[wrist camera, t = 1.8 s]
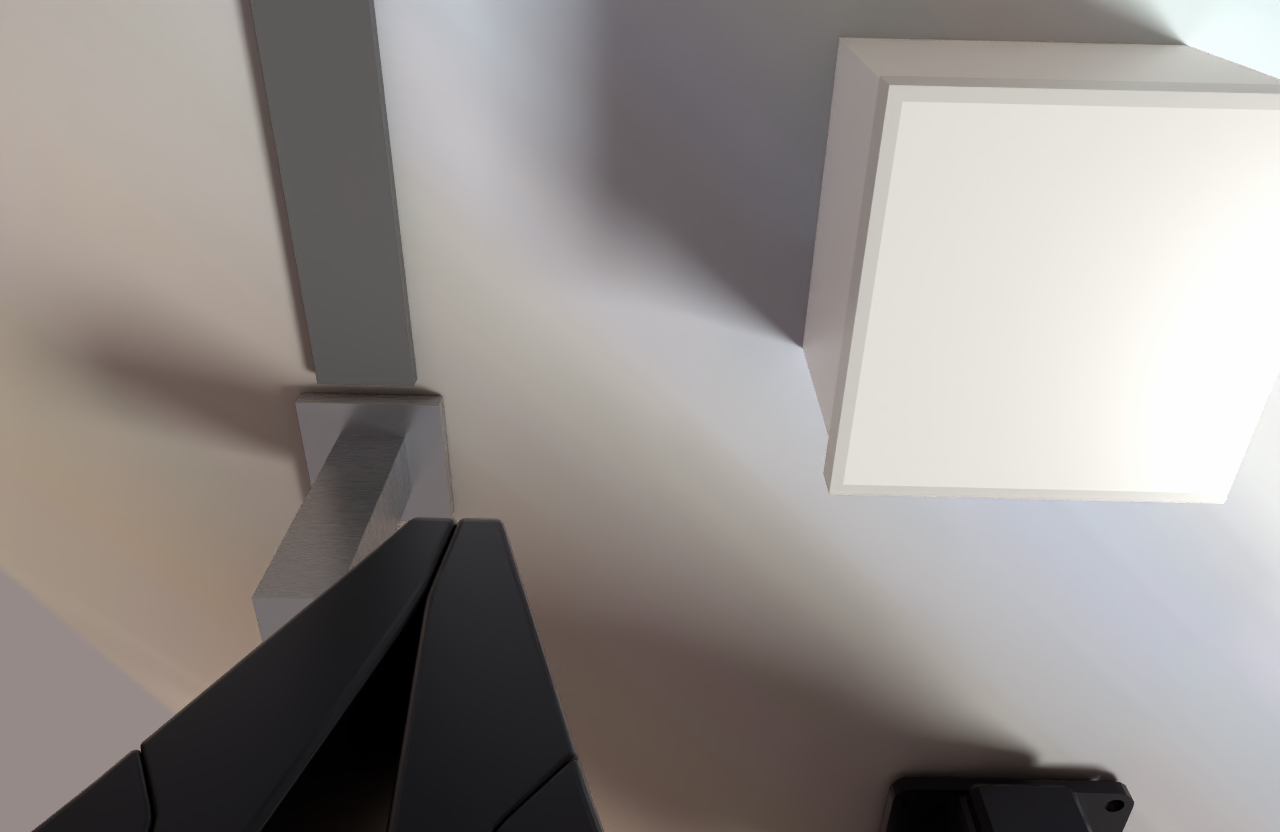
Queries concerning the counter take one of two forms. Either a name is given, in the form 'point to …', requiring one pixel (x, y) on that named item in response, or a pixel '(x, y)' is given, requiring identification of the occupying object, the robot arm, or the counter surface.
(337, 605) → the robot arm
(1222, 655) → the counter surface
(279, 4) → the strip
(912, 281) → the base block
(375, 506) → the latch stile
